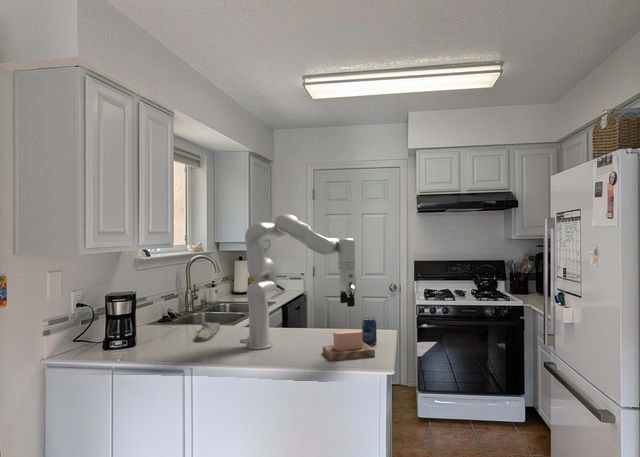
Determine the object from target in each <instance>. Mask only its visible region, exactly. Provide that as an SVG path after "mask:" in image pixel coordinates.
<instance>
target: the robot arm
mask: <svg viewBox="0 0 640 457" xmlns="http://www.w3.org/2000/svg"><path fill="white" fill-rule="evenodd" d="M282 236H289V237H290V238H292V239H294V240H295V241H298V242H300V243H301V244H302V245H303V246H305V247H306V248H308V249H309V250H311V251H313V252H316V253H317V254H319V255H322V256H332V255H337V257H338V258H337V262H338V263H337V266H338V268H337V269H338V270H339V297H340V304H347V307H350V308H351V307H355V305H356V304H355V297H356V296H355V294H356V291H357V280H356V271H355V270H356V243H355V242H356V241H355V239H354V238H349V237H346V238H336V237H324V236H322V235H321V234H318V233H316V232H314V231H313V230H312V229H311V227H310V225H309V224H307V223H305V222H303V221H301V220H299V219H298V217H297V216H295V215H293V214H288V213H287V214H286V213H285V214H284V213H283V214H282V213H281V214H279V215H278V216H276V217H275V219H274V221H269V222H268V221H259V222H254V223H253V224H251V225H249V227H248V228H247V230H246V232H245V235H244V239H245V241H244V242H245V248H246V261H247V262H246V264H247V273H248V274H249V276H250V277H251V278H253V279H257V280H255V281H252V282H251V283H250V284H248V286H247V288H246V298H247V304H248V325H249V326H248V327H249V328H248V330H249V331H248V333H249V334H248V335H249V336H248V337H245V338H240V339H239V344H243V345H245V344H246V345H245V347H246V348H247V349H249V350H265V349H270V348H271V347H273V344H274V343H273V342H272V341H270V311H269V310H270V309H269V304H268V300H267V299H269V298H272V297H273V296H274V295H275V294H276V292H277V287H278V286H277V274H276V266H275V263H274V261H273V260H272V259H271V258H269V257H268V256H267V257H266V256H265V255H266V254H265V248H264V244H263V243H262V241H263V240H274V239H277V238H280V237H282Z"/></svg>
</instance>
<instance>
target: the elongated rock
mask: <svg viewBox="0 0 640 457" xmlns="http://www.w3.org/2000/svg"><path fill="white" fill-rule="evenodd" d="M220 328H221V325H220V323H218V322H209V321H207V322H206V321H205V322H202V324H201V330H199V331H198V333H196V336H195V341H197V342H199V343H205V342H208V341H210V339H212V338H213V337H214V336H215V335H217V333H218V332H219V331H220Z"/></svg>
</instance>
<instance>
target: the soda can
mask: <svg viewBox="0 0 640 457" xmlns="http://www.w3.org/2000/svg"><path fill="white" fill-rule="evenodd" d="M377 331H378V330H377V321H376V318H375V317H363V320H362V321H361V332H362V340H363V343H366V344H367V345H369V346H374V345H376V343H377V340H378V339H377V338H378V337H377V334H378V333H377Z"/></svg>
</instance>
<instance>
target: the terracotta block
mask: <svg viewBox="0 0 640 457" xmlns="http://www.w3.org/2000/svg"><path fill="white" fill-rule="evenodd" d="M333 345H334V348H335V349H336V350H346V349H356V348H363V340H362V330H360V329H354V330H341V331H333Z"/></svg>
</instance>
